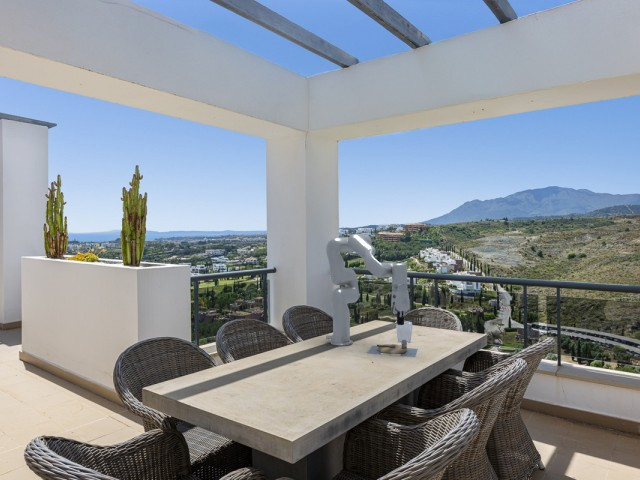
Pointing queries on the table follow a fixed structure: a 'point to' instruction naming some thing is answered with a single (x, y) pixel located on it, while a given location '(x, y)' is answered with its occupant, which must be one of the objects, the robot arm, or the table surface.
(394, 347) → the crank wheel
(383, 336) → the table surface
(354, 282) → the robot arm
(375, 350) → the blue-grey base board
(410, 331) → the cup
